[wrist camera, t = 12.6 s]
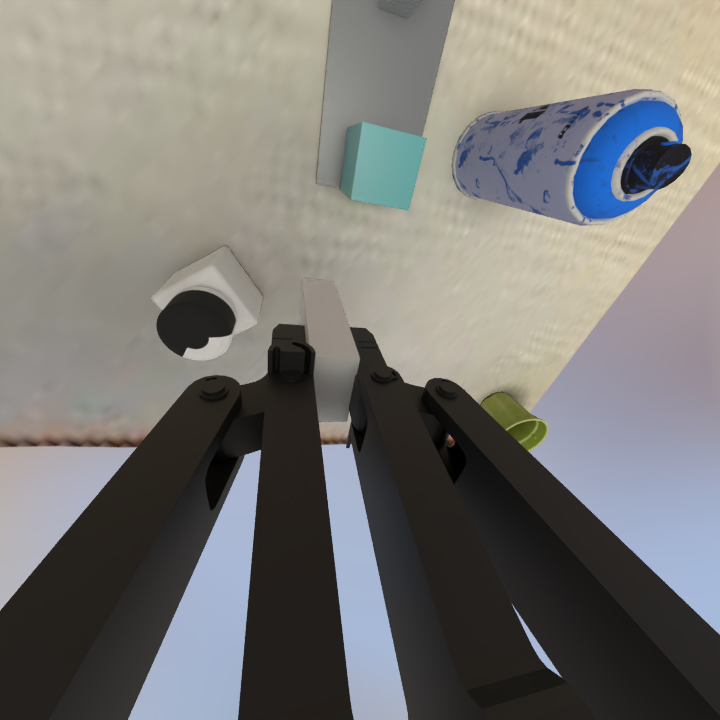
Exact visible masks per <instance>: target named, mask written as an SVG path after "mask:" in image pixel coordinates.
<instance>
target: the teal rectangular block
mask: <svg viewBox="0 0 720 720" xmlns="http://www.w3.org/2000/svg"><path fill="white" fill-rule="evenodd" d="M426 139H427V138H424V137H420V136H416V135H412V134H408V133H405V132H401V131H397V130H393V129H389V128H385V127H381V126H378V125H374V124H370V123H366V122H360V123H358V124H355V125H353V126H350V127H348V132H347V140H346V148H345V156H344V163H343V171H342V179H341V186H340V190H341V191H342V192H343V193H344V194H345V195H347V196H348V197H349V198H350V199H351V200H356V201H361V202H366V203H371V204H377V205H382V206H387V207H392V208H398V209H403V210H408V211H409V207H410V203H411V199H412V195H413V191H414V187H415V183H416V179H417V175H418V171H419V167H420V163H421V159H422V155H423V151H424V147H425V143H426Z"/></svg>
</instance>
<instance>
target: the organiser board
mask: <svg viewBox="0 0 720 720" xmlns="http://www.w3.org/2000/svg"><path fill="white" fill-rule="evenodd" d="M454 2H455V0H424V1H423V2H422V3H421V4H420V5H419V6H418V8H417V9H416V10H415V11H414V12H413V13H412V14H411V16H410V17H409V18H408V19H406V18H403V17H400V16H398V15H395V14H392V13H389V12H387V11H384V10H381V9H378V6H379V0H332V8H331V19H330V31H329V42H328V53H327V64H326V75H325V87H324V98H323V109H322V120H321V132H320V143H319V154H318V165H317V176H316V183H317V184H322V185H327V186H332V187H337V188H340V186H341V179H342V171H343V163H344V156H345V148H346V140H347V132H348V127H350V126H353V125H355V124H358V123H360V122H366V123H370V124H374V125H378V126H381V127H385V128H389V129H393V130H397V131H401V132H405V133H408V134H412V135H416V136H420V137H422V135H423V131H424V126H425V122H426V118H427V114H428V110H429V106H430V102H431V97H432V93H433V89H434V85H435V81H436V77H437V73H438V68H439V64H440V60H441V56H442V52H443V48H444V43H445V39H446V35H447V31H448V27H449V23H450V19H451V14H452V10H453V6H454Z"/></svg>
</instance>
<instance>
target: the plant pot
mask: <svg viewBox="0 0 720 720" xmlns="http://www.w3.org/2000/svg"><path fill="white" fill-rule="evenodd" d="M481 407H482V408H483V409H484V410H485V411H487V412H488V413H489V414H490V415H491V416H492V417H493V418H494V419H495V420H496V421H497V422H498V423H499V424H500V425H501V426H502V427H503V428H504V429H505V430H506V431H507V432H508V433H509V434H511V435H512V436H513V437H514V438H515V439H516V440H517V441H518V442H519V443H520V444H521V445H522V446H523V447H524V448H525V449H526V450H527V451H528V452H529V451H531V450H532V449H534V448H535V447H536V446H538V445H539V444H540V443H541V442H542V441H543V440H544V439H545V437H546V435H547V433H548V425H547V423H546V422H545V421H544V420H542V419H539V418H537V417H536V416H534V415H532V414H530V413H529V412H528V411H527V410H526V409H525V408H523V407H522V406H521V405H520V404H519V403H518V402H516V401H515V400H514V399H513V398H512V397H511V396H510V395H508V394H507V393H503V392H500V393H495V394H493V395H492V396H491V397H489V398H486V399H485V400H484V401H483V402H482V403H481Z"/></svg>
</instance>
